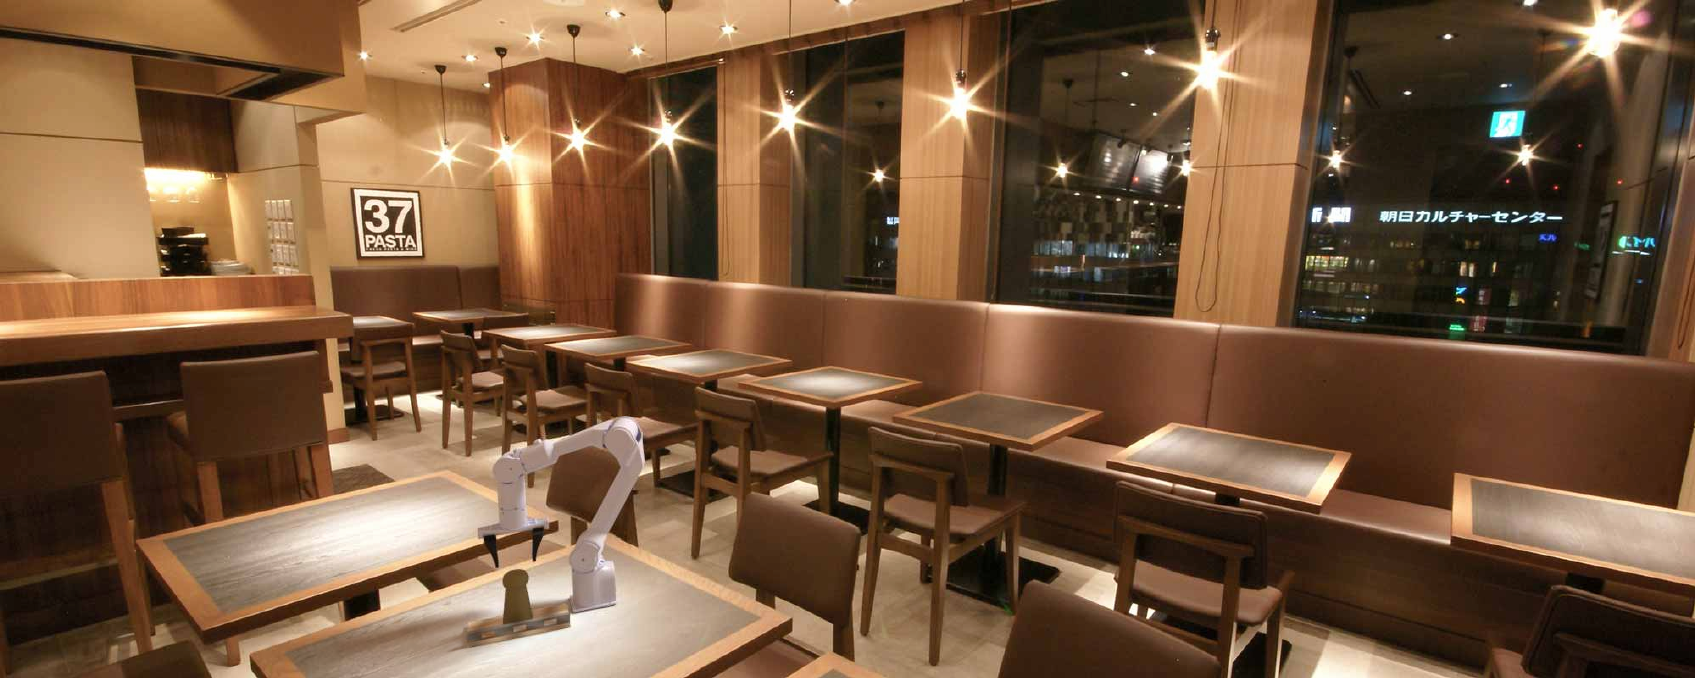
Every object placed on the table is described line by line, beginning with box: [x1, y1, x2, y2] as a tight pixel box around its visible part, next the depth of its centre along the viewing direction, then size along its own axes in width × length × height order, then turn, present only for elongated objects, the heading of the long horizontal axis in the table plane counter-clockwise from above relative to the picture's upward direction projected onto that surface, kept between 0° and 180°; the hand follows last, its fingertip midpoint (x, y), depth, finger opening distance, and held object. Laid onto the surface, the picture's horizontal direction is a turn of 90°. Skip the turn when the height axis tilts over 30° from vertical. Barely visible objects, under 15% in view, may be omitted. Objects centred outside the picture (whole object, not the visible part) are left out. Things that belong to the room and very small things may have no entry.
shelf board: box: [466, 603, 571, 648], centre depth 161 cm, size 20×9×3 cm, turn 115°
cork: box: [502, 568, 533, 624], centre depth 161 cm, size 6×6×11 cm
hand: (515, 562), depth 168 cm, fingers open, 7 cm apart
